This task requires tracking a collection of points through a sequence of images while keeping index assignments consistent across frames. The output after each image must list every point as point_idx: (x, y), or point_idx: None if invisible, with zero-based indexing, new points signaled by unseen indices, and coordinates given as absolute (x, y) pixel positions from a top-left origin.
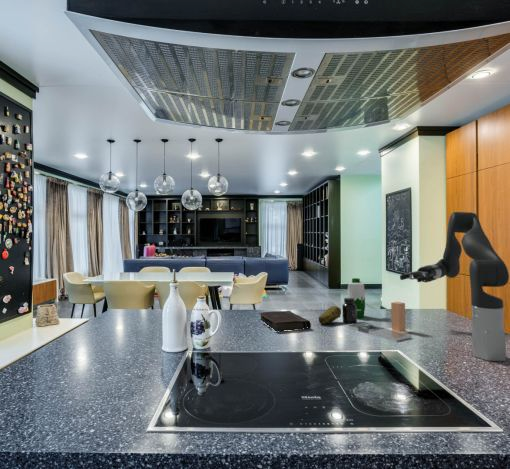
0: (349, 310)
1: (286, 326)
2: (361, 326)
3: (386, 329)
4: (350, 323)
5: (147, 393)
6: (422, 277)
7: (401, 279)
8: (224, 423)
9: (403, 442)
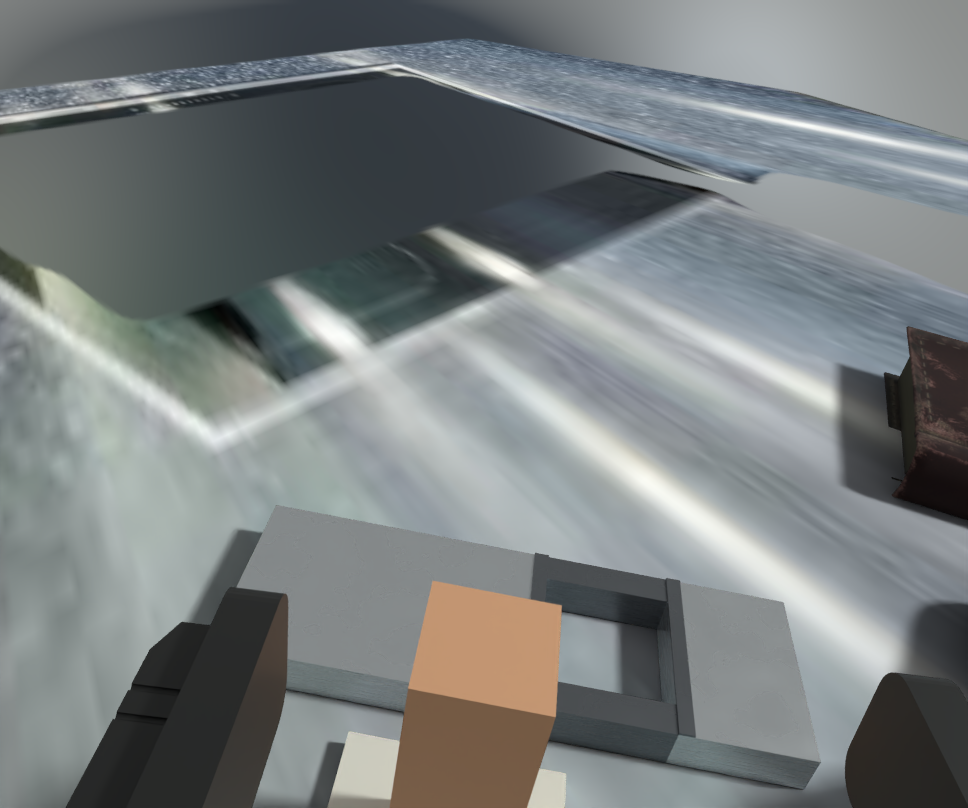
0: None
1: (911, 392)
2: (694, 635)
3: None
4: None
5: (521, 95)
6: (134, 751)
7: (855, 761)
8: (326, 81)
9: (20, 99)
